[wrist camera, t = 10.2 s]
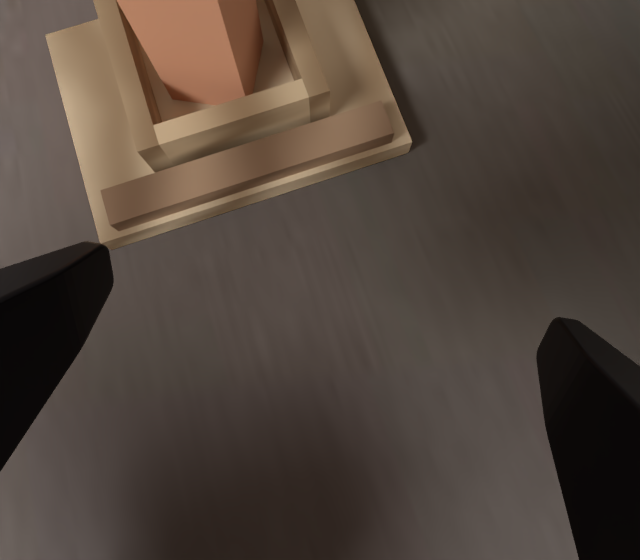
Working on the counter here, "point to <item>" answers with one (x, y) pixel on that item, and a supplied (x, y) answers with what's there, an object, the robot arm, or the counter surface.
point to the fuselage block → (200, 45)
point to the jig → (222, 119)
